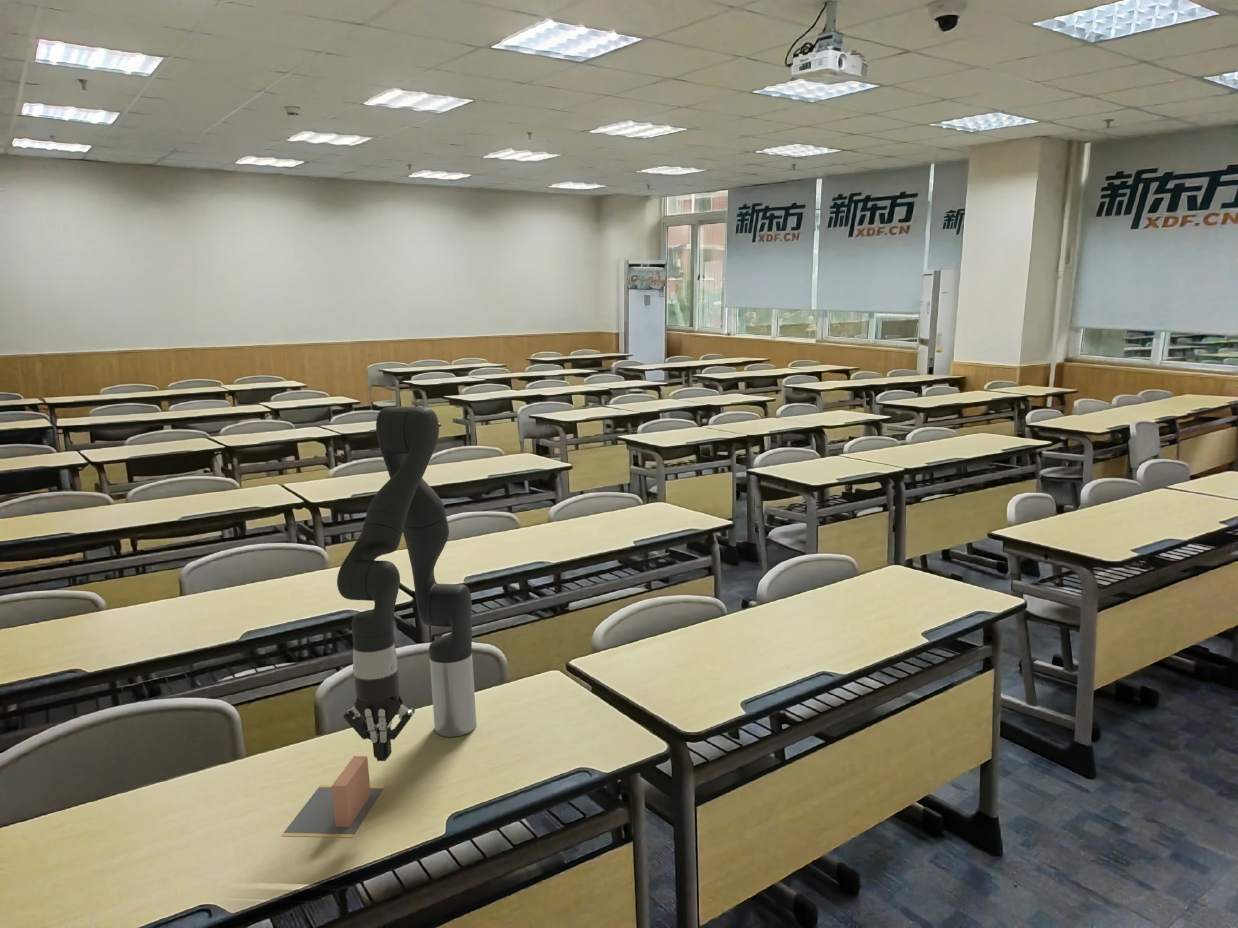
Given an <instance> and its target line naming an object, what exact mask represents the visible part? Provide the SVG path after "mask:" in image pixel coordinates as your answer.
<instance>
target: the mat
mask: <svg viewBox="0 0 1238 928" xmlns="http://www.w3.org/2000/svg"><path fill="white" fill-rule="evenodd" d="M332 785H333V784H320V785H319V786H318V788H317V789H316V790H315V792H314V793H313V794H312V796H311V797H310V798H309V799H308V801H307V802H306V803H305V805H304V806H303V807H302V808H301V810H300V811H299V812H298V813H297V814H296V816H295V817H294V819H293V820H292V821H291V822H290V824H289V825H288V826H287V828H286V829H285V830H284V831H283V833H281V835H280V837H297V838H298V837H299V838H300V837H303V838H304V837H306V838H307V837H308V838H344V839H346V838H347V839H348V838H350V839H352V838H354V837H355V834H356V833H357V831H358V830H359V828H360V827H361V825H362V823H363V822H364V820H365V819H366V817H367V815H368V814H369V812H370V811H371V809H372V807H373V806H374V805H375V803H376V801H377V800H378V798H379V797H380V795H381V794H382V792H383V790H384V788H385V787H386V786H385V785H370V792H371V795H370V797H369V798H368V800H367V801H366V803H365V804H364V806H363V807H362V809H361V810H360V812H359V814H358V815H357V817H356V818H355V820H354V821H353V823H352V824H351V826H350V827H336V825H335V814H334V804H333V794H332Z"/></svg>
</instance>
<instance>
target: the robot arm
mask: <svg viewBox="0 0 1238 928" xmlns="http://www.w3.org/2000/svg"><path fill="white" fill-rule="evenodd" d="M375 421H376V422H375V431H376V438H377V443H378V447H379V449H380V452H381V456H382V458H383V462H384V464H385V466H386V469H387V473H388V475H389V479H388V480H387V481H386V482H385V484H384V485H383V486H382V487H381V488H380V489H379V490H378V491H377V492H376V494H374V497H373V498H372V500H370V501H371V502H370V503H369V506H368V508H367V511H366V514H365V517H364V521H363V525H362V529H361V533H360V534H359V537H358V538H357V540H356V541H355V543H354V544H353V546H352V548H351V550H350V551H349V552H348V554H347V555H346V557H345V559H344V560H343V562H342V564H341V565H340V568H339V570H338V574H337V579H336V586H337V591H338V592H339V594H340V595H341V597H342V598H344V599H346V600H349V601H369V602H370V601H371V602H374V607H373V608H372V609H368V610H367V609H366V610H363V611H360V612H359V613H356V614H355V615H354V616H353V617H352V620H351V633H352V634H351V635H352V646H353V647H352V648H353V651H352V652H353V654H352V670H353V678H354V688H355V689H354V690H355V697H356V699H355V701H354V706H352V707H350V708H349V709H347V711H346V712H345V713H344V714H343V718H344V720H345V721H346V722H347V723H348V725H350V727H351V728H353V730H354V731H355V732H356V733H357V734H358V736H359V737H360V738H361V739H362V740H367V739H368V740H370V741H371V743H372V752H373V756H374V758H375V759H376V761H377V762H386V761H387V760H388V759H389V757H390V756H391V754H392V741H394V740H396V738H398V735H400V733H401V732H402V730H403V729H404V728H405V726H406V725H407V724H408V722H409V721H410V720H411V718H412V717H413V715H414V714H415V712H416V710H415V708H413V707H409V708H408V707H406V705H404V704H403V699H402V698H401V696H400V682H399V671H398V670H399V668H398V656H397V650H396V646H395V635H394V634H395V633H394V632H395V631H394V617H395V616H394V615H395V608H396V603H397V600H398V599H397V598H398V594H399V590H400V585H401V584H400V583H401V575H400V572H399V569H398V568H397V566H396V565H395V564H394V563H393V562H392V561H388V560H376V559H377V558H378V557H381V556H385V555H388V554H392V553H394V552H396V551H397V550H398V549H399V546H400V543H401V540H402V536H403V538H404V542H405V544H406V548H407V552H408V553H407V554H408V556H409V557H408V558H409V562H410V565H411V566H410V567H411V571H412V577H413V587H414V593H415V602H416V609H417V613H418V616H419V619H420V621H421V622H422V623H423V624H424V625H425V626H427V627H428V626H429V627H439V628H441V627H444V628H446V627H447V628H451V633H449V634H446V635H443V636H439V637H438V638H436V639H434V640H433V641H432V642H431V643H430V644H429V646H428V654H429V668H430V669H429V670H430V681H431V695H432V697H431V698H432V708H433V710H432V711H433V724H434V732H435V733H436V734H437V735H439V736H441V737H445V738H447V737H449V738H452V737H460V736H464V735H467V734H469V733H471V732H473V731H474V729H476V728H477V713H476V697H475V696H476V695H475V693H476V692H475V681H474V679H475V678H474V677H475V676H474V666H473V663H474V662H473V650H472V648H473V647H472V645H473V625H472V624H473V622H472V617H473V613H472V610H473V609H472V606H473V605H472V595H471V592H470V591H471V590H470V589H469V587H468V586H467V585H466V584H460V583H459V584H458V583H437V581H436V579H435V566H436V564H437V561H438V560H439V558H440V556H441V554H442V552H443V550H444V548H445V546H446V544H447V543H448V539H449V535H450V529H449V522H448V517H447V513H446V508H445V504H444V503H443V501H442V499H441V498H440V496H439V495H438V493H437V492H435V490H434V489H433V488H432V487H431V486H430V484H428V482H426V480H424V478H423V476H424V474H425V472H426V470H427V468H428V465H429V463H430V461H431V459H432V457H433V454H434V452H435V449H436V448H437V443H438V441H439V434H440V423H439V419H438V416H437V414H436V412H435V411H434V409H432V408H430V407H426V406H388V407H387V406H386V407H384V408H382V409H381V410H379V412H378V414H377V416H376V420H375ZM398 712H399V714H398ZM397 714H398V719H399V720H400V721H399V722H398V723H397V725H396V726H395V727H394V728H392V724H393V720H394V718H395V717H396V715H397Z"/></svg>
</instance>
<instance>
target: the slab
mask: <svg viewBox="0 0 1238 928" xmlns="http://www.w3.org/2000/svg"><path fill="white" fill-rule="evenodd" d="M368 759H369V758H368V756H367V755H364V756H363V755H362V756H361V755H354V756H353V757H352V758H351V760H350V761H349V762H348V763H347V765H346V766H345V767H344V769H343V770H342V771H341V773H340V774H339V775H338V776H337V778H336V779H335V781H334V782H333V783H332V784H331V785H332V794H333V804H334V814H335V825H336V827H350V826H351V824H352V823H353V821H354V820H355V818H356V817H357V815H358V814H359V812H360V810H361V809H362V807H363V806H364V804H365V803H366V801H367V800H368V798H369V797H370V795H371V792H370V786H371V783H370V770H369V760H368Z"/></svg>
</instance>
